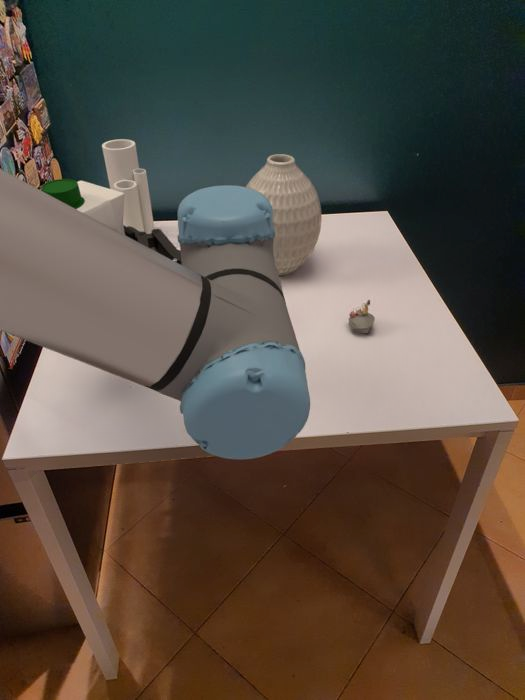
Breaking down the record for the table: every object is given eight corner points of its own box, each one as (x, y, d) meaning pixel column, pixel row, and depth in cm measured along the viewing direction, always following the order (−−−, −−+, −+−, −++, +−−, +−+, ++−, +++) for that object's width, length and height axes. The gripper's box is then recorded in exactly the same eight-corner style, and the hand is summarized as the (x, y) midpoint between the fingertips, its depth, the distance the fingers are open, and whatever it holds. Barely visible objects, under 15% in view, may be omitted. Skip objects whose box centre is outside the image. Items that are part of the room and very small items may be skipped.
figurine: (370, 339, 88) (375, 310, 84) (344, 334, 89) (348, 305, 85) (375, 321, 92) (380, 293, 88) (350, 317, 93) (354, 289, 89)
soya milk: (60, 326, 71) (15, 184, 58) (108, 295, 77) (77, 160, 64) (106, 348, 67) (69, 201, 54) (153, 314, 73) (130, 174, 60)
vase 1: (115, 231, 119) (98, 142, 106) (146, 225, 121) (132, 137, 108) (129, 253, 111) (111, 159, 98) (161, 246, 113) (148, 153, 100)
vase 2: (258, 295, 98) (257, 181, 84) (227, 256, 110) (222, 150, 96) (332, 277, 103) (343, 166, 89) (295, 242, 115) (300, 139, 101)
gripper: (86, 385, 51) (-1, 293, 64) (251, 300, 63) (149, 236, 76) (68, 324, 47) (-23, 238, 59) (250, 245, 58) (142, 187, 71)
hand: (74, 237), depth 67 cm, fingers closed on soya milk, 9 cm apart
